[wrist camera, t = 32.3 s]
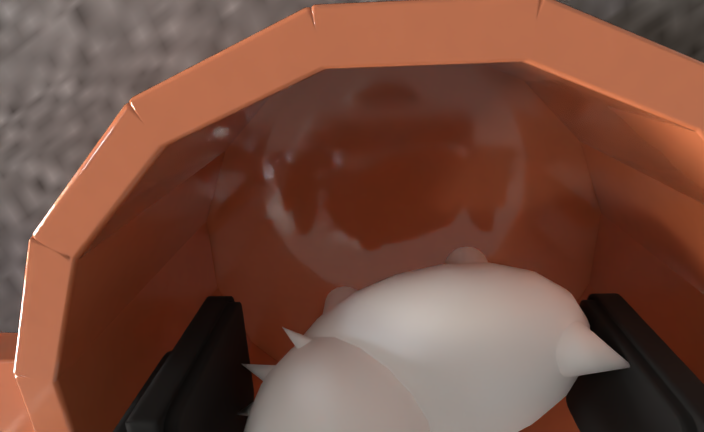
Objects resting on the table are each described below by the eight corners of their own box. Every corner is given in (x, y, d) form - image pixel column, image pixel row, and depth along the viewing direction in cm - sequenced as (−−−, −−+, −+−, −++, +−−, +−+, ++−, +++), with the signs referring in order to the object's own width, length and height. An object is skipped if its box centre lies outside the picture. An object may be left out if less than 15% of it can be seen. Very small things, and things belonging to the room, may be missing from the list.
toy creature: (234, 288, 12) (104, 514, 6) (535, 186, 11) (717, 358, 5) (304, 416, 14) (249, 696, 8) (578, 341, 12) (757, 614, 6)
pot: (652, 410, 18) (861, 693, 10) (160, 406, 20) (13, 656, 12) (751, 6, 13) (1322, -43, 5) (73, 35, 14) (-301, 31, 6)
